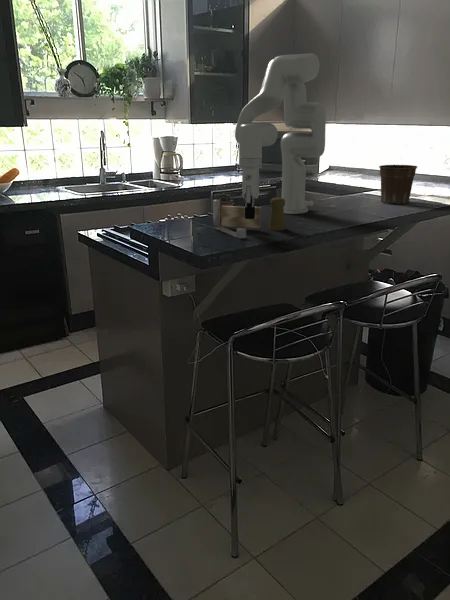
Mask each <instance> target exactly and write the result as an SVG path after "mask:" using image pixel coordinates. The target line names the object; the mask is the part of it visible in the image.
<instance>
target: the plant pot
mask: <svg viewBox="0 0 450 600" xmlns="http://www.w3.org/2000/svg"><path fill="white" fill-rule="evenodd" d="M378 168H379V174H380V202H381V203H382V202H383V204H386V203H389V204H388V205H393V204H396V205H406V204H409V203H410V198H411V192H412V187H413V183H414V178H415V175H416V172H417V169H418V165H411V164H382V165H379V166H378Z"/></svg>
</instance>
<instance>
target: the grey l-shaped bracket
mask: <svg viewBox="0 0 450 600" xmlns="http://www.w3.org/2000/svg"><path fill="white" fill-rule="evenodd" d="M212 200H213V203H212V221H213V229H214V230H217V231H219V230H220V232H222V233H224V234H227V235H229V236H232V237H235V238H236V239H247V228H246V227H237V228H236V227H235V228H236V229H235V230H236V231H234V230H231V229H228V228H226V227H225V226H221V221H220V200H221V199H219V200H217V199H212Z"/></svg>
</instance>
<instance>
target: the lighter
mask: <svg viewBox="0 0 450 600" xmlns="http://www.w3.org/2000/svg"><path fill="white" fill-rule="evenodd" d="M213 198H214V199H216V200H220V220H221V206H234V199H231V194H225V193H224V192H223V193H222V194H221V193H215V194H213ZM214 199H212V201H211V202H212V204H213V200H214Z"/></svg>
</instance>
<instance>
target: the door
mask: <svg viewBox="0 0 450 600" xmlns="http://www.w3.org/2000/svg"><path fill="white" fill-rule="evenodd" d="M254 207H255V218H254V219H245V206H237V205H235V206H234V205H233V206H221V221H220V226H221V227H233V228H234V227H235V228H236V227H237V228H254V229H255V228H256V229H260V228H261V227H262V226H261V225H262V223H261V222H262V221H261V220H262V219H261V218H262V207H260V206H254Z"/></svg>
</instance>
